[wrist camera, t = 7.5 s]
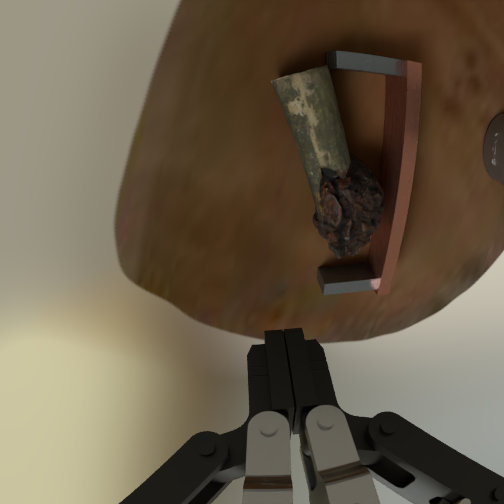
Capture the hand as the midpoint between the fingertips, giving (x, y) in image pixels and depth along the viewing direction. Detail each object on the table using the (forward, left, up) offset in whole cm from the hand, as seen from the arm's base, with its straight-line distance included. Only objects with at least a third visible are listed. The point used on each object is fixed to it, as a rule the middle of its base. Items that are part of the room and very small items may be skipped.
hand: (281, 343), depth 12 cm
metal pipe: (-7, -2, -20) cm, 21 cm away
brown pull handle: (-10, 0, -19) cm, 22 cm away
